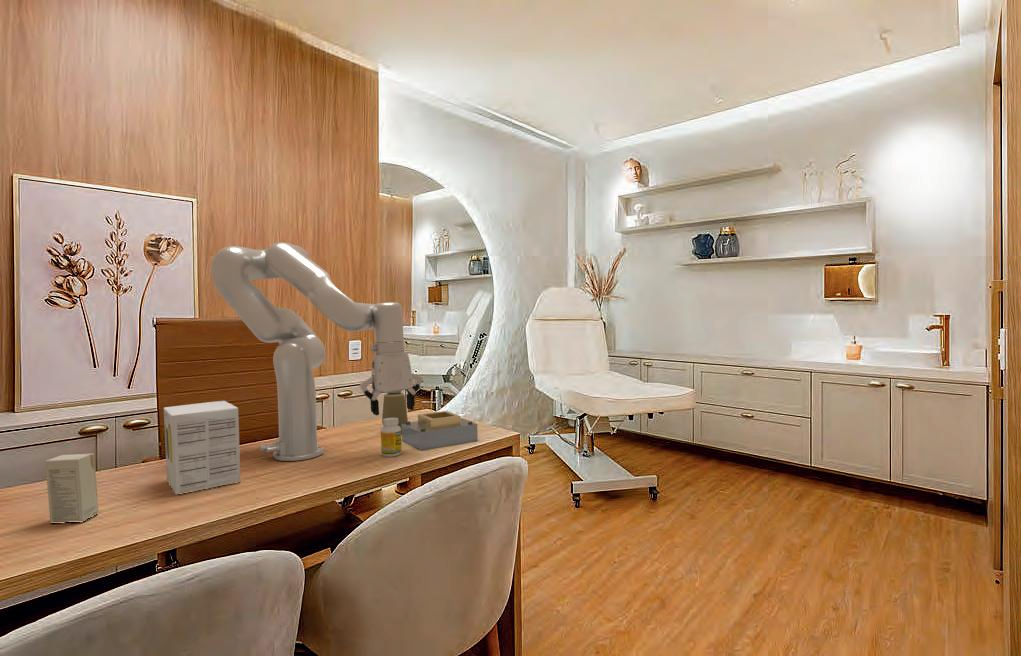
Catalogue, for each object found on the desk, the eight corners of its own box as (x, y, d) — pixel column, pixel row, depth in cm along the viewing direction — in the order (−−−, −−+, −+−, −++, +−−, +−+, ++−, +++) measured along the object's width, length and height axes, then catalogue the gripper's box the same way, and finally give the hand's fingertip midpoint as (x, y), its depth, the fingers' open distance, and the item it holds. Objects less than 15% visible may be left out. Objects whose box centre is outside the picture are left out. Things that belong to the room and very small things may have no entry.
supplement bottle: (385, 451, 148) (384, 416, 147) (404, 451, 147) (403, 417, 147) (378, 457, 142) (377, 421, 142) (398, 457, 142) (397, 421, 141)
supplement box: (165, 481, 124) (162, 406, 124) (228, 469, 133) (225, 399, 132) (174, 496, 114) (171, 415, 113) (241, 483, 123) (239, 407, 122)
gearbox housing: (420, 450, 148) (420, 423, 148) (401, 440, 160) (401, 415, 160) (477, 440, 158) (477, 415, 158) (456, 431, 170) (455, 408, 169)
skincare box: (99, 514, 105) (96, 452, 104) (82, 523, 100) (79, 459, 100) (66, 515, 104) (62, 453, 104) (47, 524, 100) (44, 459, 100)
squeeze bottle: (379, 430, 172) (378, 375, 171) (404, 428, 176) (403, 373, 175) (385, 436, 165) (383, 378, 164) (410, 433, 168) (409, 376, 168)
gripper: (362, 351, 136) (366, 418, 136) (425, 346, 145) (428, 409, 146) (353, 350, 142) (357, 414, 143) (414, 345, 151) (418, 405, 152)
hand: (393, 411), depth 144 cm, fingers open, 9 cm apart
